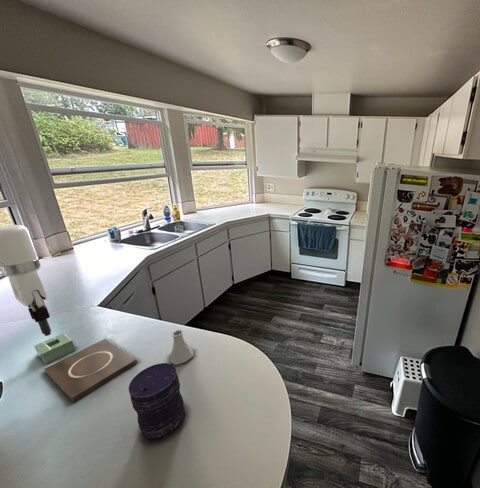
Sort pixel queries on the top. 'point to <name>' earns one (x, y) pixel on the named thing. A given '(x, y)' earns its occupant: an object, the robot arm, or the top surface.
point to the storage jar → (157, 401)
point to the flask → (180, 349)
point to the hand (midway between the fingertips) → (41, 318)
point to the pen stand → (54, 348)
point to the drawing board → (89, 368)
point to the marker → (44, 327)
